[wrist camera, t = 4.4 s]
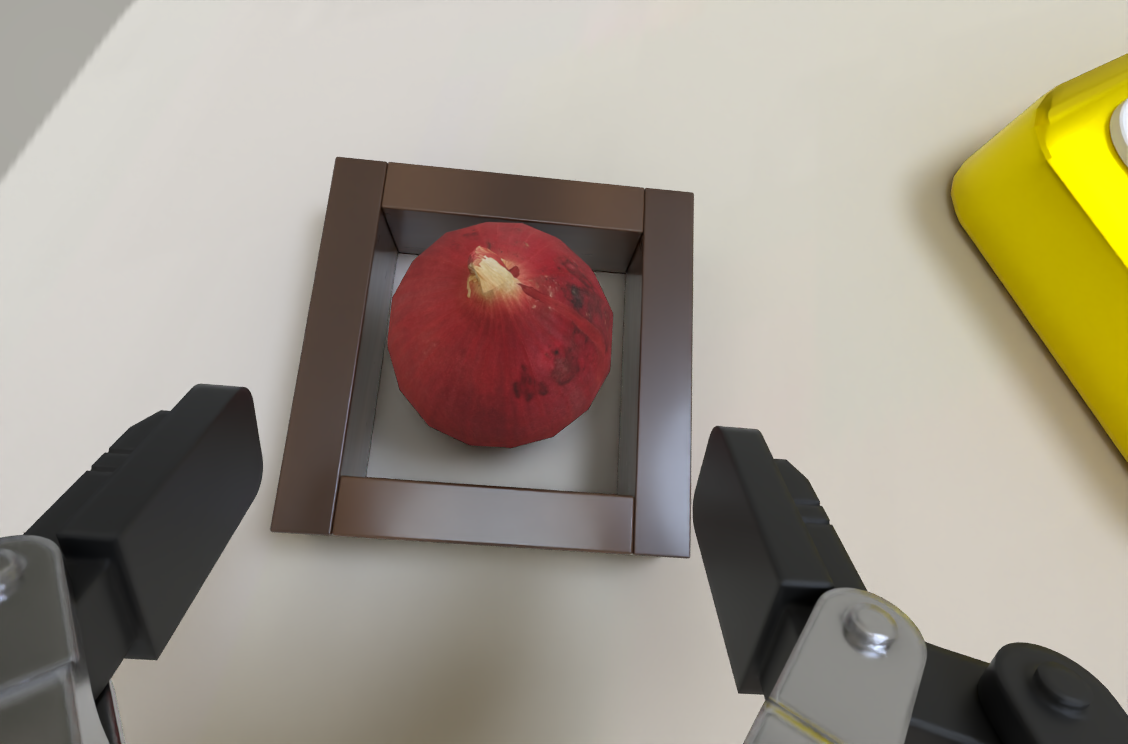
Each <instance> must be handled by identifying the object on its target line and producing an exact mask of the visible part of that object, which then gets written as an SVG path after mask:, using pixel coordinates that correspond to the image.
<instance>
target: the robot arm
mask: <svg viewBox="0 0 1128 744" xmlns="http://www.w3.org/2000/svg"><path fill="white" fill-rule="evenodd" d="M91 467H92V468H91V471H86V472H85V473H84V474H83V475H82V476H81V477H80V478H79V479H78V480H77V481H76V482H75V483H74V484H73V485H72V486H71V487H70V488H69V489H68V490H67V491H66V492H65V493H64V494H63V495H62V496H61V497H60V498H59V499H58V500H57V501H56V502H55V503H54V504H53V505H52V506H51V507H50V508H49V509H48V510H47V511H46V512H45V513H44V514H43V515H42V516H41V517H40V518H39V519H38V520H37V521H36V522H35V523H34V524H33V525H32V526H31V527H30V528H29V529H28V530H27V531H26V532H25V533H24V534H23V535H17V536H8V537H2V538H0V744H126V742H125V737H124V732H123V728H122V723H121V718H120V713H119V708H118V703H117V698H116V693H115V689H114V686H113V683H112V681H111V677H112V676H113V674H114V673H115V671H116V670H117V668H118V667H119V665H120V663H121V662H122V660H123V659H124V658H126V659H145V660H158V658H159V656H160V655H161V653H162V651H163V650H164V648H165V646H166V645H167V643H168V641H169V640H170V638H171V636H172V635H173V633H174V631H175V630H176V628H177V626H178V625H179V623H180V621H181V620H182V618H183V616H184V615H185V613H186V611H187V610H188V608H189V606H190V605H191V603H192V602H193V600H194V598H195V597H196V595H197V593H198V592H199V590H200V588H201V587H202V585H203V583H204V582H205V580H206V578H207V577H208V575H209V573H210V572H211V570H212V568H213V567H214V565H215V563H216V562H217V560H218V558H219V557H220V555H221V553H222V552H223V550H224V548H225V547H226V545H227V543H228V542H229V540H230V538H231V537H232V535H233V533H234V532H235V530H236V529H237V527H238V525H239V524H240V522H241V520H242V519H243V517H244V515H245V514H246V512H247V510H248V509H249V507H250V505H251V504H252V502H253V500H254V499H255V497H256V495H257V493H258V490H259V487H260V484H261V480H262V473H263V459H262V452H261V446H260V440H259V434H258V428H257V421H256V415H255V409H254V403H253V398H252V395H251V392H250V391H249V390H248V389H247V388H246V387H235V386H223V385H210V384H197V385H195V386H194V387H193V388H192V389H191V390H190V391H189V392H188V393H187V394H186V395H185V396H184V397H183V398H182V399H181V400H180V401H179V403H178V404H177V405H176V406H175V407H174V408H173V409H172V410H171V411H163V410H161V411H159V412H157V413H155V414H153V415H152V416H150V417H148V418H146V419H144V420H142V421H141V422H139V423H137V424H135V425H133V426H132V427H130V428H129V429H128V430H127V431H126V432H125V433H124V434H123V435H122V436H121V437H120V438H119V439H118V440H117V441H116V442H115V443H114V444H113V445H112V446H111V447H110V448H109V452H108V453H104V454H103V455H102V456H101V457H100V458H99V459H98V460H97V461H96V462H95V463H94V464H93V465H92V466H91ZM829 521H830V520H829V518H828V516H827V514H826V512H825V510H824V509H823V507H822V506H820V501H819V499H818V497H817V495H816V494H815V492H814V490H813V488H812V486H811V484H810V482H809V480H808V479H807V478H806V477H805V476H804V475H803V474H801V473H800V472H799V471H798V470H797V469H796V468H795V467H794V466H793V465H792V464H791V463H789V462H788V461H787V460H784V459H773V457H772V454H771V452H770V450H769V448H768V446H767V444H766V442H765V440H764V438H763V436H762V434H761V432H760V431H759V430H757V429H747V428H735V427H722V426H716V427H714V428H713V430H712V431H711V434H710V437H709V441H708V444H707V448H706V452H705V456H704V459H703V463H702V467H701V471H700V474H699V478H698V482H697V486H696V489H695V494H694V500H693V523H694V529H695V533H696V536H697V540H698V544H699V548H700V551H701V555H702V559H703V563H704V566H705V570H706V574H707V578H708V581H709V585H710V589H711V593H712V597H713V600H714V604H715V608H716V612H717V615H718V619H719V623H720V627H721V630H722V634H723V638H724V642H725V645H726V649H727V653H728V657H729V660H730V664H731V668H732V672H733V675H734V679H735V683H736V687H737V690H738V693H741V694H760V695H764V697H765V702H764V704H763V706H762V707H761V709H760V711H759V713H758V715H757V717H756V719H755V721H754V723H753V725H752V727H751V729H750V731H749V733H748V735H747V737H746V739H745V741H744V743H743V744H1128V715H1127V714H1126V712H1125V711H1124V710H1123V708H1122V707H1121V706H1120V704H1119V703H1118V702H1117V700H1116V699H1115V698H1114V697H1113V695H1112V694H1111V693H1110V692H1109V690H1108V689H1107V688H1106V687H1105V686H1104V685H1103V684H1102V683H1101V682H1100V681H1099V680H1098V679H1097V678H1095V677H1094V676H1093V675H1092V674H1091V673H1090V672H1088V671H1087V670H1086V669H1084V668H1083V667H1081V666H1080V665H1079V664H1077V663H1076V662H1074V661H1072V660H1071V659H1069V658H1067V657H1066V656H1064V655H1062V654H1060V653H1058V652H1056V651H1053V650H1051V649H1048V648H1046V647H1042V646H1039V645H1036V644H1030V643H1018V642H1017V643H1010V644H1008V645H1005V646H1003V647H1002V648H1001V649H1000V650H999V651H998V652H997V654H996V655H995V657H994V658H993V660H992V661H991V663H987V662H984V661H981V660H978V659H974V658H971V657H968V656H965V655H962V654H959V653H956V652H953V651H950V650H947V649H944V648H941V647H938V646H935V645H932V644H930V643H927V642H925V641H924V638H923V637H922V635H921V633H920V631H919V629H918V628H917V627H916V625H915V624H914V623H913V622H912V620H911V619H910V618H909V617H908V616H907V615H906V614H905V613H903V612H902V611H901V610H900V609H899V608H897V607H896V606H895V605H893V604H892V603H890V602H889V601H887V600H885V599H883V598H882V597H879V596H877V595H875V594H873V593H870V592H868V591H867V589H866V588H865V586H864V584H863V582H862V580H861V578H860V576H859V574H858V573H857V571H856V569H855V567H854V565H853V563H852V561H851V559H850V557H849V556H848V554H847V552H846V550H845V548H844V546H843V544H842V542H841V541H840V539H839V537H838V535H837V533H836V531H835V529H834V527H833V525H830V524H829Z"/></svg>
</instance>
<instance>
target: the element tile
mask: <svg viewBox="0 0 1128 744" xmlns="http://www.w3.org/2000/svg"><path fill="white" fill-rule="evenodd" d="M951 197H952V201H953V205H954V209H955V213H956V215H957V217H958V220H959V222H960V224H961V225H962V226H963V228H964V229H965V231H966V232H967V234H968V235H969V236H970V238H971V239H972V241H973V242H974V244H975V245H976V246H977V248H978V249H979V251H980V252H981V254H982V255H983V256H984V258H985V259H986V261H987V262H988V264H989V265H990V266H991V268H992V269H993V271H994V272H995V274H996V275H997V277H998V278H999V279H1000V281H1001V282H1002V284H1003V285H1004V287H1005V288H1006V289H1007V291H1008V292H1009V294H1010V295H1011V297H1012V298H1013V299H1014V301H1015V302H1016V304H1017V305H1018V307H1019V308H1020V309H1021V311H1022V312H1023V314H1024V315H1025V317H1026V318H1027V319H1028V321H1029V322H1030V324H1031V325H1032V327H1033V328H1034V329H1035V331H1036V332H1037V334H1038V335H1039V337H1040V338H1041V339H1042V341H1043V342H1044V344H1045V345H1046V347H1047V348H1048V350H1049V351H1050V352H1051V354H1052V355H1053V357H1054V358H1055V360H1056V361H1057V362H1058V364H1059V365H1060V367H1061V368H1062V370H1063V371H1064V372H1065V374H1066V375H1067V377H1068V378H1069V380H1070V381H1071V382H1072V384H1073V385H1074V387H1075V388H1076V390H1077V391H1078V392H1079V394H1080V395H1081V397H1082V398H1083V400H1084V401H1085V402H1086V404H1087V405H1088V407H1089V408H1090V410H1091V411H1092V412H1093V414H1094V415H1095V417H1096V418H1097V420H1098V421H1099V423H1100V424H1101V425H1102V427H1103V428H1104V430H1105V431H1106V433H1107V434H1108V435H1109V437H1110V438H1111V440H1112V441H1113V443H1114V444H1115V445H1116V447H1117V448H1118V450H1119V451H1120V453H1121V454H1122V455H1123V457H1124V458H1125V460H1126V461H1127V463H1128V54H1126V55H1123V56H1121V57H1119V58H1117V59H1115V60H1112V61H1110V62H1108V63H1106V64H1104V65H1102V66H1099V67H1097V68H1095V69H1093V70H1091V71H1088V72H1086V73H1084V74H1082V75H1080V76H1078V77H1075V78H1073V79H1071V80H1069V81H1067V82H1064V83H1062V84H1060V85H1058V86H1056V87H1055V88H1053V89H1052V90H1050V91H1049V92H1047V93H1046V94H1045V95H1043V96H1042V97H1041V98H1039V99H1038V100H1037V101H1036V102H1035V103H1033V104H1032V105H1031V106H1030V107H1029V108H1028V109H1026V110H1025V111H1024V112H1023V113H1022V114H1020V115H1019V116H1018V117H1017V118H1016V119H1014V120H1013V121H1012V122H1011V123H1010V124H1008V125H1007V126H1006V127H1005V128H1004V129H1002V130H1001V131H1000V132H999V133H998V134H996V135H995V136H994V137H993V138H992V139H991V140H989V141H988V142H987V143H986V144H985V145H983V146H982V147H981V148H980V149H979V150H977V151H976V152H975V153H974V154H973V155H971V156H970V157H969V158H968V159H967V160H966V161H965V162H964V163H963V165H962V166H961V167H960V169H959V170H958V171H957V173H956V174H955V176H954V178H953V183H952V189H951Z"/></svg>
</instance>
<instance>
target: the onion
mask: <svg viewBox="0 0 1128 744" xmlns="http://www.w3.org/2000/svg"><path fill="white" fill-rule="evenodd" d="M612 327H613V312H612V310H611V308H610V306H609V304H608V302H607V299H606V297H605V295H604V293H603V291H602V289H601V286H600V284H599V282H598V280H597V278H596V276H595V274H594V272H593V271H592V269H591V268H590V267H589V266H588V265H587V264H586V263H585V262H584V261H583V260H582V259H581V258H580V257H579V256H577V255H576V254H575V253H574V252H573V251H572V250H571V249H570V248H569V247H568V246H567V245H566V244H565V243H563V242H562V241H561V240H560V239H558V238H556V237H554V236H552V235H550V234H547V233H545V232H542V231H540V230H538V229H535V228H533V227H530V226H528V225H526V224H523V223H503V222H484V223H480V224H477V225H473V226H470V227H466V228H462V229H458V230H454V231H450V232H446V233H445V234H444V235H443V236H441V237H440V238H439V239H438V240H437V241H435V242H434V243H433V244H432V245H431V246H430V247H428V248H427V249H426V250H425V251H424V252H422V253H421V254H420V255H419V256H418V257H416V258H415V260H414V261H413V262H412V263H411V265H410V267H409V269H408V270H407V272H406V274H405V276H404V278H403V279H402V281H401V283H400V285H399V287H398V288H397V290H396V292H395V294H394V296H393V297H392V305H391V313H390V322H389V331H388V351H389V354H390V358H391V361H392V364H393V368H394V371H395V375H396V378H397V382H398V385H399V389H400V391H401V392H402V393H403V395H404V396H405V397H406V398H407V400H408V401H409V402H410V403H411V405H412V406H413V407H414V408H415V410H416V411H417V412H418V413H419V414H420V416H421V417H422V418H423V419H424V421H425V422H426V423H427V424H428V426H430V427H432V428H434V429H436V430H438V431H440V432H442V433H445V434H447V435H449V436H451V437H453V438H455V439H457V440H459V441H461V442H463V443H465V444H468V445H471V446H489V447H505V448H513V447H517V446H520V445H524V444H528V443H532V442H535V441H539V440H543V439H547V438H551V437H554V436H555V435H556V434H557V433H559V432H560V431H561V430H563V429H564V428H565V427H566V426H568V425H569V424H570V423H572V422H573V421H574V420H575V419H577V418H578V417H579V416H581V415H582V414H583V413H584V412H586V411H587V410H588V409H589V407H590V405H591V403H592V402H593V400H594V398H595V396H596V395H597V393H598V391H599V389H600V387H601V386H602V384H603V382H604V380H605V379H606V377H607V375H608V373H609V372H610V365H611V346H612Z"/></svg>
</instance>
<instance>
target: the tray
mask: <svg viewBox="0 0 1128 744" xmlns="http://www.w3.org/2000/svg"><path fill="white" fill-rule="evenodd" d="M484 222H503V223H523V224H526V225H528V226H530V227H533V228H535V229H538V230H540V231H542V232H545V233H547V234H550V235H552V236H554V237H556V238H558V239H560V240H561V241H562V242H563V243H565V244H566V245H567V246H568V247H569V248H570V249H571V250H572V251H573V252H574V253H575V254H576V255H577V256H579V257H580V258H581V259H582V260H583V261H584V262H585V263H586V264H587V265H588V266H589V267H590V268H591V269H592V270H597V271H608V272H619V273H625V272H626V282H625V307H624V333H623V358H622V384H621V409H620V434H619V460H618V485H617V495H616V494H602V493H588V492H573V491H559V490H544V489H530V488H516V487H501V486H487V485H473V484H458V483H444V482H430V481H415V480H401V479H386V478H372V477H366V472H367V465H368V458H369V451H370V444H371V437H372V430H373V423H374V416H375V409H376V402H377V395H378V388H379V380H380V373H381V366H382V359H383V352H384V345H385V338H386V331H387V324H388V317H389V310H390V303H391V296H392V289H393V281H394V274H395V267H396V260H397V253H398V252H403V253H413V254H421V253H422V252H424V251H425V250H426V249H427V248H428V247H430V246H431V245H432V244H433V243H434V242H435V241H437V240H438V239H439V238H440V237H441V236H443V235H444V234H445V233H446V232H450V231H454V230H458V229H462V228H466V227H470V226H473V225H477V224H480V223H484ZM693 226H694V194H693V193H691V192H681V191H671V190H661V189H651V188H645V190H644V188H640V187H630V186H621V185H611V184H601V183H591V182H581V181H571V180H561V179H552V178H542V177H532V176H522V175H512V174H502V173H492V172H483V171H473V170H463V169H453V168H443V167H433V166H423V165H414V164H404V163H394V162H389V163H387V162H383V161H374V160H364V159H354V158H344V157H336V159H335V165H334V171H333V176H332V182H331V188H330V193H329V199H328V205H327V210H326V216H325V222H324V227H323V233H322V239H321V244H320V250H319V256H318V261H317V267H316V273H315V278H314V284H313V290H312V295H311V301H310V307H309V312H308V318H307V324H306V329H305V335H304V341H303V346H302V352H301V358H300V363H299V369H298V375H297V380H296V386H295V392H294V397H293V403H292V409H291V414H290V420H289V426H288V431H287V437H286V443H285V448H284V454H283V460H282V466H281V471H280V477H279V483H278V488H277V494H276V500H275V505H274V511H273V517H272V522H271V528H270V530H271V531H272V532H279V533H295V534H311V535H327V536H342V537H358V538H374V539H390V540H405V541H421V542H437V543H453V544H468V545H484V546H500V547H516V548H531V549H547V550H563V551H579V552H594V553H610V554H626V555H641V556H657V557H673V558H690V534H691V431H692V329H693Z"/></svg>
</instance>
